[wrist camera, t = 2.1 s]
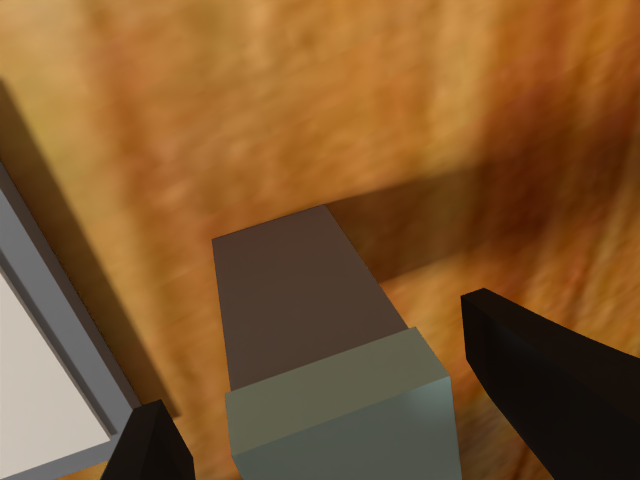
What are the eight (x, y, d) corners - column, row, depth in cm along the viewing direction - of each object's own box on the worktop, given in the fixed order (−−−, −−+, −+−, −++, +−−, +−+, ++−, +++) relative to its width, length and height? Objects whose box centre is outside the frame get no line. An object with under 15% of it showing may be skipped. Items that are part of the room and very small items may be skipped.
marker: (349, 297, 17) (465, 506, 10) (243, 332, 17) (289, 577, 10) (326, 200, 15) (449, 376, 8) (207, 237, 15) (232, 456, 8)
